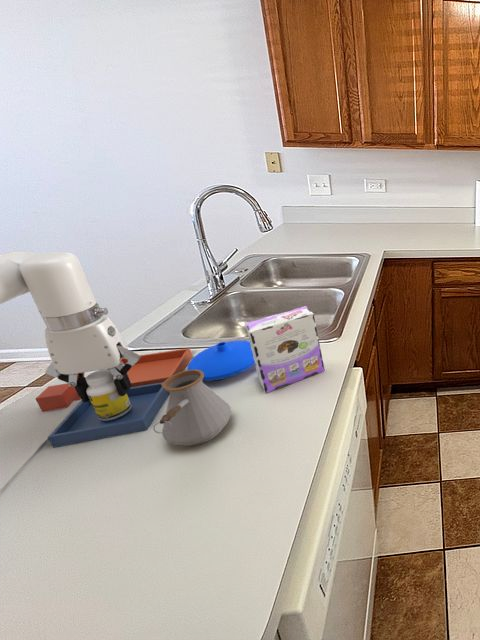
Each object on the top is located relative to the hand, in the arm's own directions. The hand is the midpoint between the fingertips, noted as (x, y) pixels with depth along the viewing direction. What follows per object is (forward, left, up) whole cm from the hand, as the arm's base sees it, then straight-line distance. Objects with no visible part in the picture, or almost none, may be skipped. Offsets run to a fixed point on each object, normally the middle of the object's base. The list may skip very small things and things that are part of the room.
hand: (107, 394), depth 82 cm
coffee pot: (+19, -16, -6) cm, 25 cm away
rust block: (-13, +7, -6) cm, 16 cm away
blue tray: (0, 0, -6) cm, 6 cm away
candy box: (+34, +3, -6) cm, 35 cm away
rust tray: (0, +15, -6) cm, 16 cm away
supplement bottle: (0, 0, -5) cm, 5 cm away
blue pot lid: (+18, +12, -6) cm, 23 cm away
